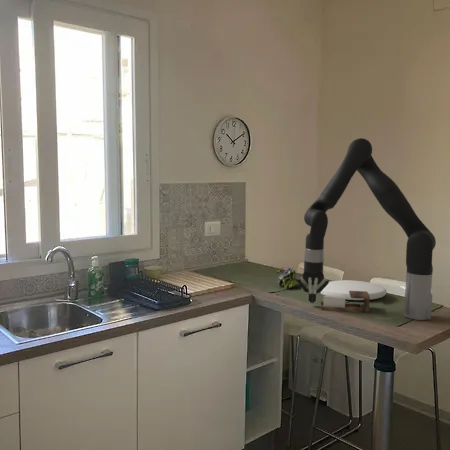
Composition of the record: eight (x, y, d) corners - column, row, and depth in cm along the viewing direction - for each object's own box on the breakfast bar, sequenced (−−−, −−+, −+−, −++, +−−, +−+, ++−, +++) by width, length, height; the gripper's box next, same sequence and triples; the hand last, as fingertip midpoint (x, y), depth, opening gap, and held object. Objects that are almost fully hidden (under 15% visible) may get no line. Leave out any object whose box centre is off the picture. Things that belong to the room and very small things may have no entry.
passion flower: (280, 297, 245) (277, 273, 251) (303, 294, 244) (300, 270, 249) (276, 288, 236) (274, 264, 242) (300, 285, 234) (297, 261, 240)
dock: (366, 309, 208) (367, 291, 207) (368, 315, 200) (369, 297, 199) (320, 306, 211) (321, 289, 210) (321, 312, 203) (322, 294, 202)
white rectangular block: (343, 306, 208) (344, 296, 207) (344, 310, 203) (345, 300, 203) (323, 305, 209) (323, 295, 209) (323, 309, 204) (324, 299, 204)
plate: (309, 286, 225) (333, 276, 247) (310, 301, 225) (334, 289, 247) (373, 290, 209) (393, 278, 231) (374, 306, 209) (393, 293, 231)
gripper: (330, 258, 208) (328, 301, 210) (297, 257, 210) (295, 299, 212) (331, 262, 200) (329, 306, 203) (296, 260, 203) (295, 304, 205)
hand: (311, 302), depth 207 cm, fingers closed
